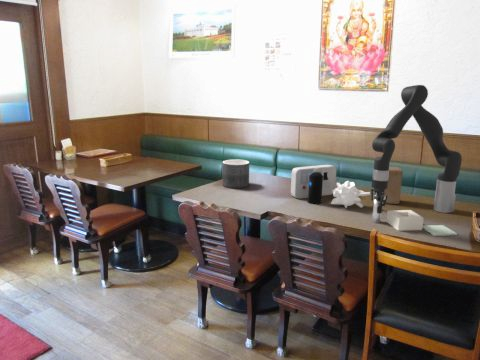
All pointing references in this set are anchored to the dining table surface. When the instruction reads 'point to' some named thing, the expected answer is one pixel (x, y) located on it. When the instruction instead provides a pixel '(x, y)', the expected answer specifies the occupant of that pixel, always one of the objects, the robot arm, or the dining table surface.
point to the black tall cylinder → (315, 187)
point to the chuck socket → (405, 220)
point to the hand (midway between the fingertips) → (377, 211)
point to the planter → (235, 173)
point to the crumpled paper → (347, 194)
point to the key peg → (376, 217)
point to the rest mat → (439, 230)
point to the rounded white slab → (302, 180)
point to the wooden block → (394, 185)
